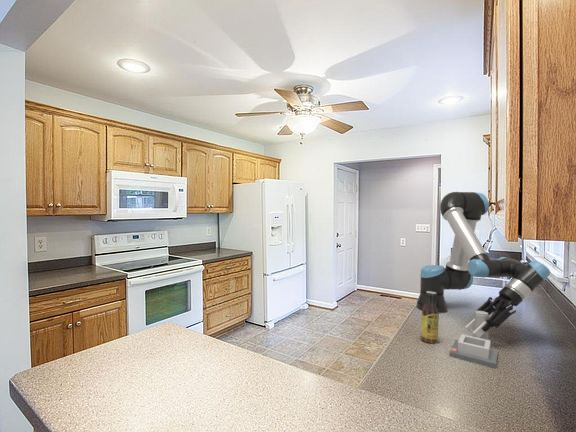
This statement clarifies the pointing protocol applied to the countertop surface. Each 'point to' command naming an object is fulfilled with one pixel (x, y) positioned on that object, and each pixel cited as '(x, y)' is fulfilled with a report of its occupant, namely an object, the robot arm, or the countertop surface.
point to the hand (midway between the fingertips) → (471, 332)
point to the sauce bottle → (430, 319)
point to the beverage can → (479, 319)
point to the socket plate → (474, 350)
